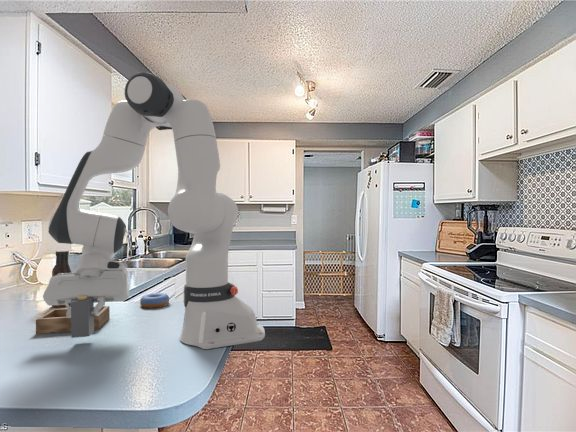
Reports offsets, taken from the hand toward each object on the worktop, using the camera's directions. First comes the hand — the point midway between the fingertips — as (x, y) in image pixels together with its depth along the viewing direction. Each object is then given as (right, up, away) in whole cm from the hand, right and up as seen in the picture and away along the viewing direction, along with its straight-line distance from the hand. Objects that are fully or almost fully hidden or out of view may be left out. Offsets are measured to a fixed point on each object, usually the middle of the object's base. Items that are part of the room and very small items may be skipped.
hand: (81, 316), depth 90 cm
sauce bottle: (-30, -7, +38) cm, 49 cm away
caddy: (-11, -7, +15) cm, 20 cm away
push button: (0, -5, +1) cm, 5 cm away
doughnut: (+4, -7, +38) cm, 39 cm away
